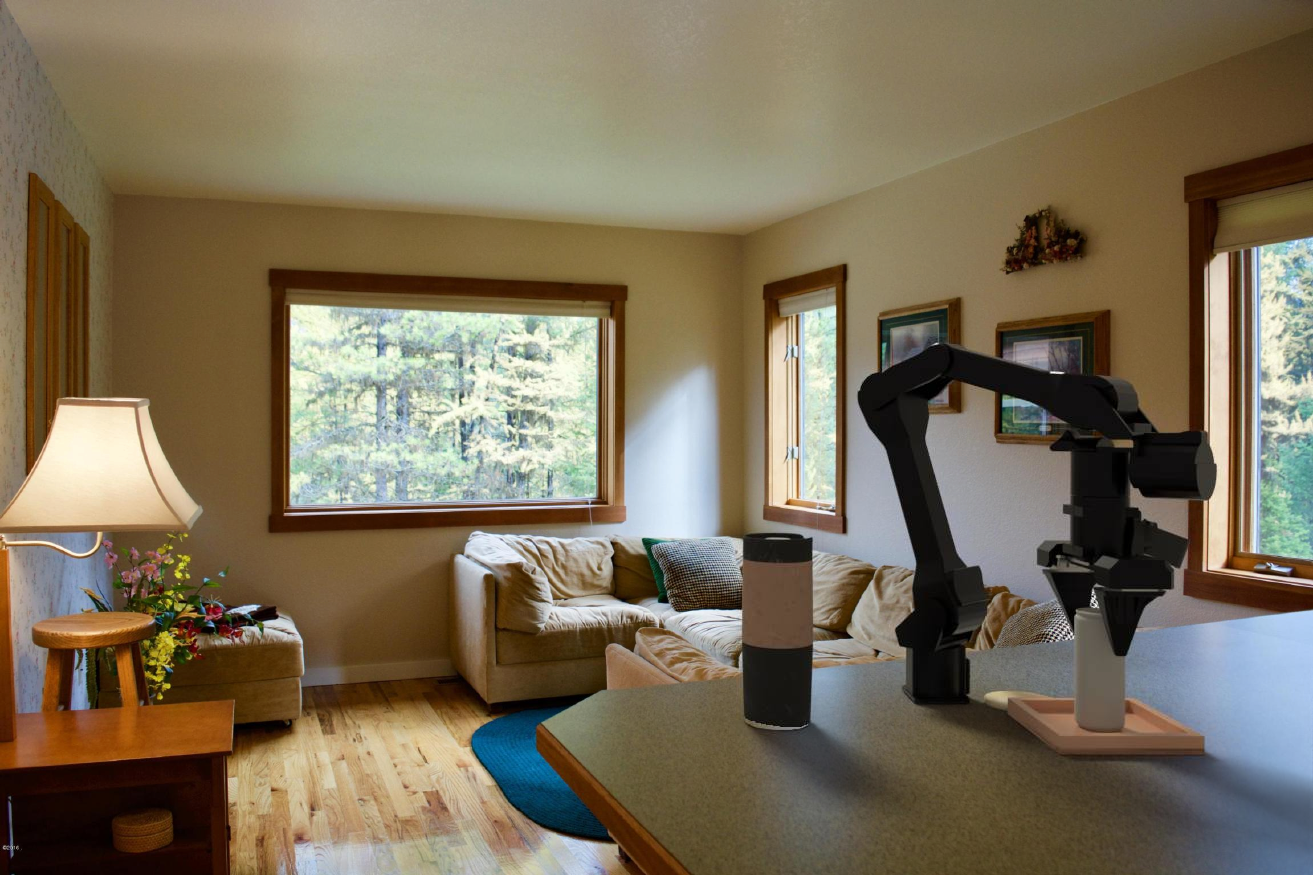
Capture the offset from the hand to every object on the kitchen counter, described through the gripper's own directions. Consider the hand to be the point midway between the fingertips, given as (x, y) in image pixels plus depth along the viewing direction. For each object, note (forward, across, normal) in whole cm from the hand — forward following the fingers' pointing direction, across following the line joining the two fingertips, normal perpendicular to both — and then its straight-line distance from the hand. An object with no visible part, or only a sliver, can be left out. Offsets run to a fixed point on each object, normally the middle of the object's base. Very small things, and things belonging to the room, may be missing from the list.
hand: (1099, 646), depth 102 cm
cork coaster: (+9, +11, +4) cm, 15 cm away
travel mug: (+9, +4, +33) cm, 35 cm away
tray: (+9, 0, 0) cm, 9 cm away
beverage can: (+9, 0, 0) cm, 9 cm away
